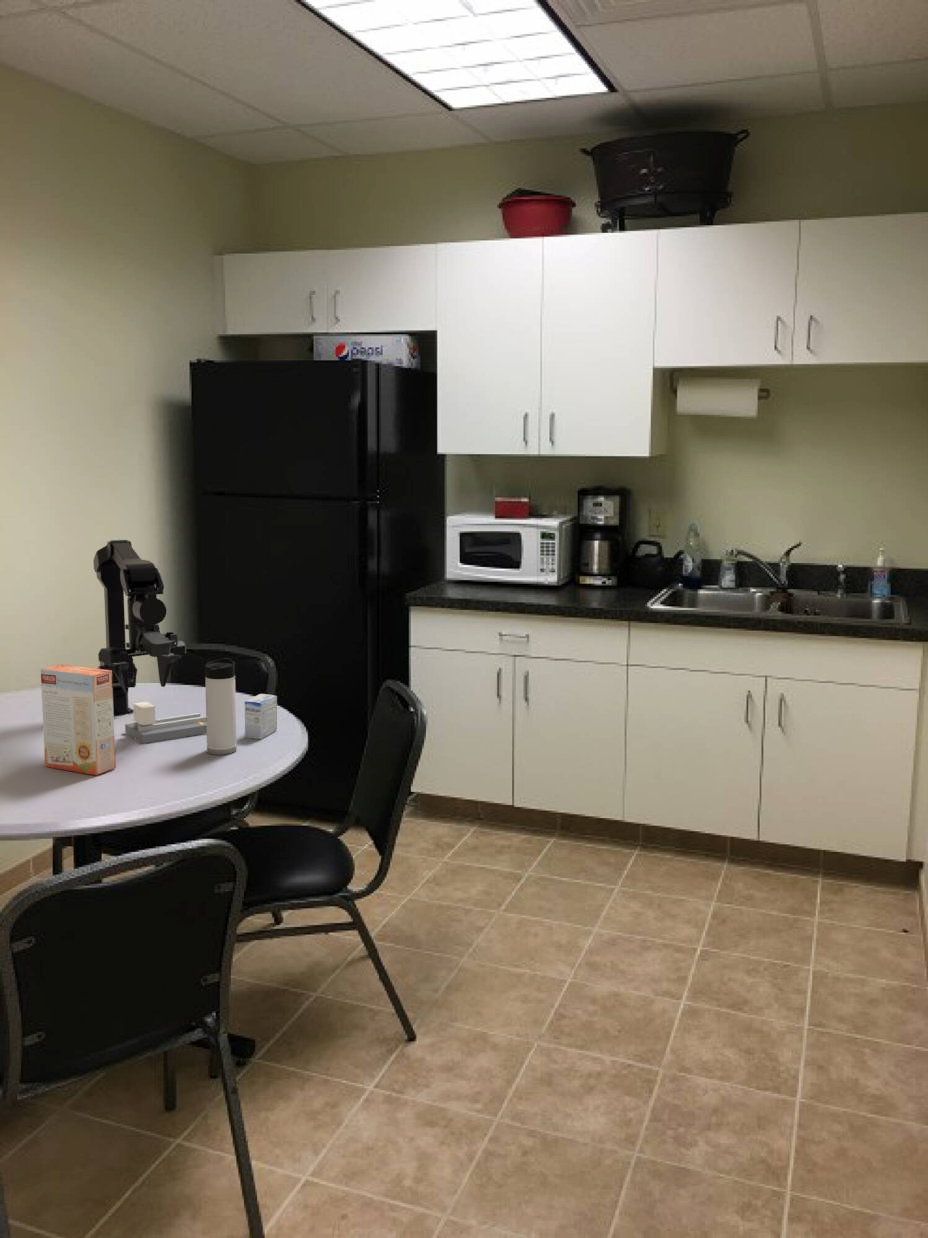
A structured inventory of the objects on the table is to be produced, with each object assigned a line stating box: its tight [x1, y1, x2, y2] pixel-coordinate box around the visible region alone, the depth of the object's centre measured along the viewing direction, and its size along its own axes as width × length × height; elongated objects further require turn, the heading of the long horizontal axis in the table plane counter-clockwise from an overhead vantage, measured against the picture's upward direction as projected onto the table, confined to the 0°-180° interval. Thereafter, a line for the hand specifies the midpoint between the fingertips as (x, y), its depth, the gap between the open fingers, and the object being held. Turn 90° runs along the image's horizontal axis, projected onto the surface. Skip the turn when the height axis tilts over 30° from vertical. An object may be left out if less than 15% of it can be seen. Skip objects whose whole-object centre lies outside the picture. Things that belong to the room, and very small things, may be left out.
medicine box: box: [244, 693, 278, 740], centre depth 246 cm, size 8×4×9 cm, turn 164°
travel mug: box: [204, 657, 237, 756], centre depth 232 cm, size 6×7×20 cm
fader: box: [133, 701, 156, 728], centre depth 243 cm, size 5×3×5 cm, turn 38°
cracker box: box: [40, 663, 116, 776], centre depth 218 cm, size 14×6×21 cm, turn 65°
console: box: [124, 712, 207, 745], centre depth 247 cm, size 11×17×3 cm, turn 128°
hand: (144, 689), depth 238 cm, fingers open, 9 cm apart
